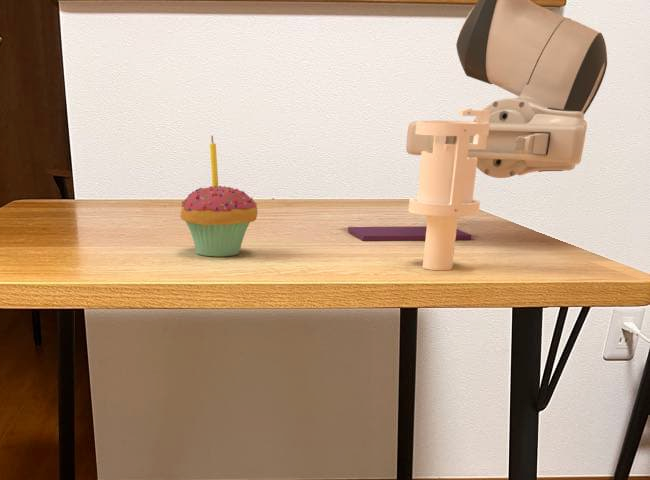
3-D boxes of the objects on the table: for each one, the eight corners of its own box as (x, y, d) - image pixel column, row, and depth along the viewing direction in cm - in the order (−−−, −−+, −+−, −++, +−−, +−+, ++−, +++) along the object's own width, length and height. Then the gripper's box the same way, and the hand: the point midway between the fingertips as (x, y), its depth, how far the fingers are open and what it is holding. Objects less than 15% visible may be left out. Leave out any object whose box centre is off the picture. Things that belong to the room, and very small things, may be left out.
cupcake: (170, 249, 101) (167, 134, 95) (237, 245, 104) (238, 134, 98) (198, 261, 94) (197, 138, 88) (270, 257, 97) (272, 138, 91)
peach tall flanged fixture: (482, 273, 90) (503, 110, 83) (415, 274, 89) (431, 109, 82) (457, 261, 96) (475, 108, 89) (395, 262, 95) (408, 108, 88)
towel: (449, 230, 117) (450, 226, 117) (471, 239, 110) (471, 234, 110) (347, 231, 116) (348, 226, 115) (363, 240, 109) (363, 235, 108)
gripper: (427, 107, 110) (391, 109, 99) (598, 111, 102) (579, 113, 91) (422, 162, 113) (386, 169, 102) (587, 170, 105) (568, 179, 94)
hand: (479, 143), depth 97 cm, fingers open, 8 cm apart
